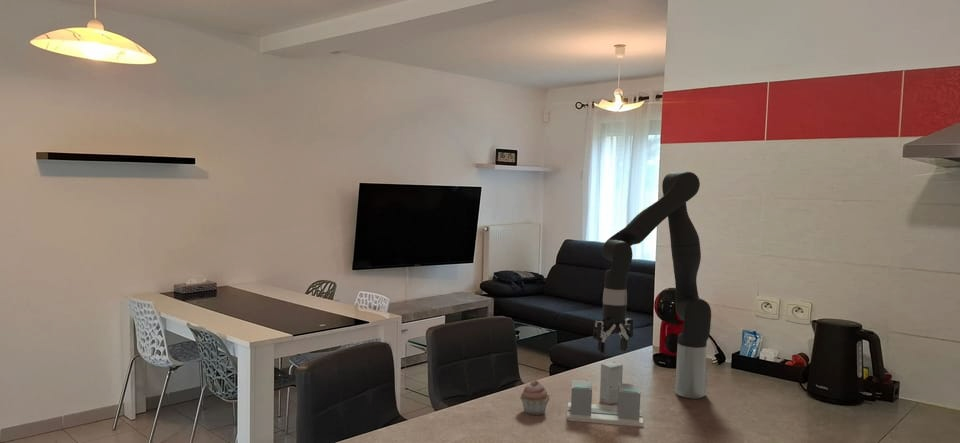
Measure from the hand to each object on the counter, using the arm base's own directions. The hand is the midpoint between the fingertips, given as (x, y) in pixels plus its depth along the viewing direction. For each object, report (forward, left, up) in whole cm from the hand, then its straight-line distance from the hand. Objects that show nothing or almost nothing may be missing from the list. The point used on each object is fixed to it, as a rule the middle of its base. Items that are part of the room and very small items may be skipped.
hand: (612, 351), depth 202 cm
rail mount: (+10, +10, -16) cm, 22 cm away
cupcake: (+28, -1, -17) cm, 32 cm away
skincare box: (0, 0, -16) cm, 16 cm away
